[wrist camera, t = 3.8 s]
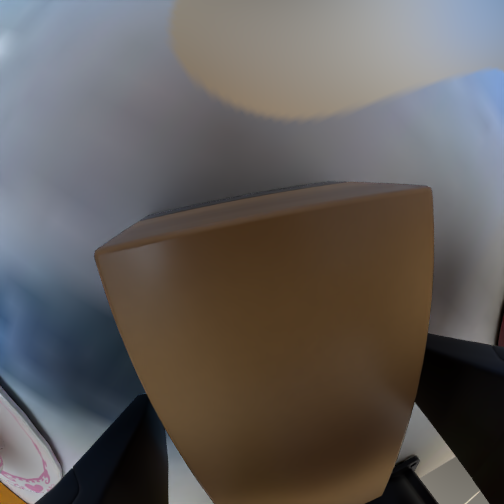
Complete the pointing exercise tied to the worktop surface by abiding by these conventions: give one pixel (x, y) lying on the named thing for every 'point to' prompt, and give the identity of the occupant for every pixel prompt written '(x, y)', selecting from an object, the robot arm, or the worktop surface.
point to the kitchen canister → (501, 334)
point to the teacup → (24, 451)
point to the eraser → (281, 334)
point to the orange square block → (8, 496)
